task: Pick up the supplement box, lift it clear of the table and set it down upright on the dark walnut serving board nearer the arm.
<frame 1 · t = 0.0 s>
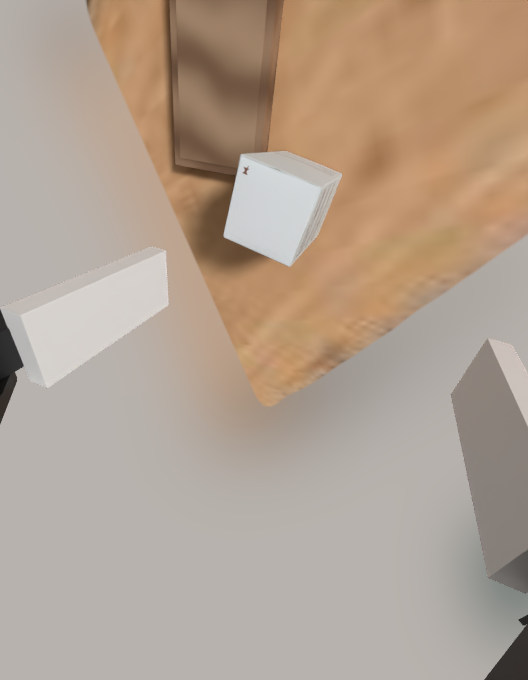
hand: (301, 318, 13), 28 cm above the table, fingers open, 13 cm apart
walnut board: (226, 76, 33), on the table
supplement box: (303, 195, 37), on the table
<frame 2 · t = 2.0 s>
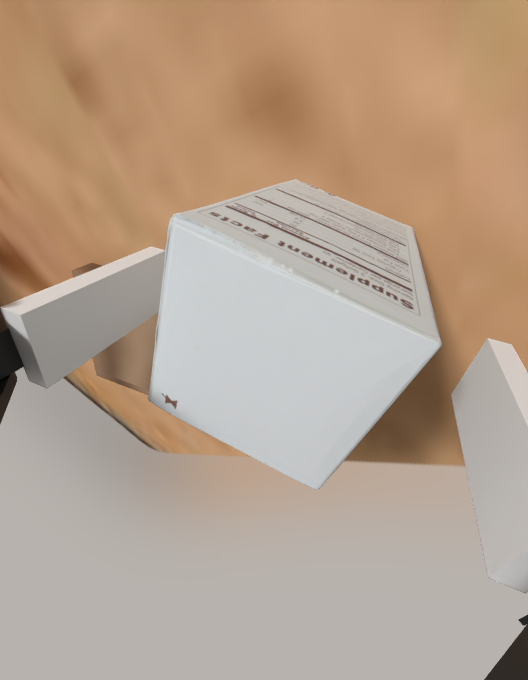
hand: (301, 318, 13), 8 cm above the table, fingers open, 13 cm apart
walnut board: (187, 347, 27), on the table
supplement box: (327, 257, 19), on the table
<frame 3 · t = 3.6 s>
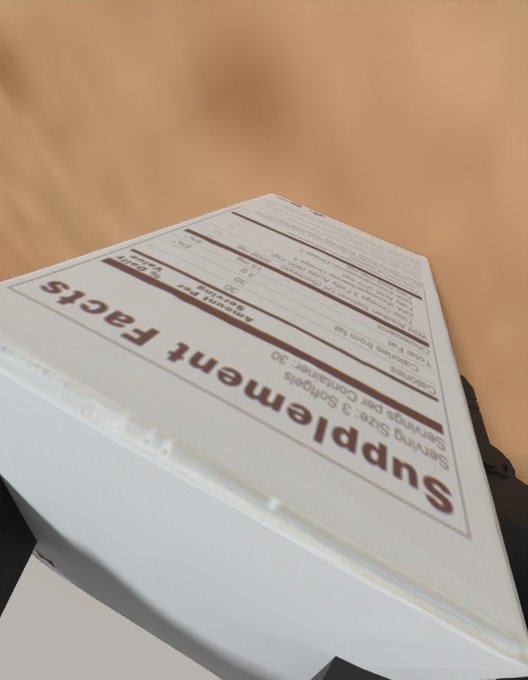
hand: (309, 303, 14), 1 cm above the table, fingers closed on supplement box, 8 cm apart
supplement box: (316, 291, 15), on the table, touching gripper
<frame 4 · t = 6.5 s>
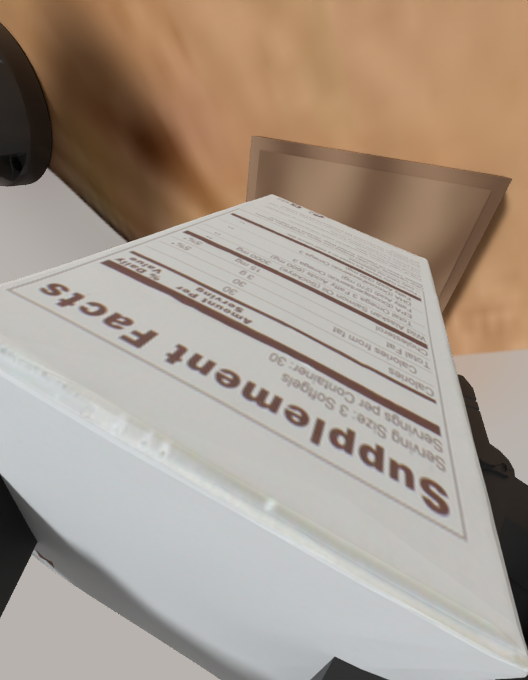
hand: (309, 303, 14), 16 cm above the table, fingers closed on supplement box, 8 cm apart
walnut board: (351, 229, 26), on the table
supplement box: (316, 292, 15), point 14 cm above the table, touching gripper
when the fingers open (4 cm above the table, at t = 9.2 s): supplement box stays where it is, resting on walnut board.
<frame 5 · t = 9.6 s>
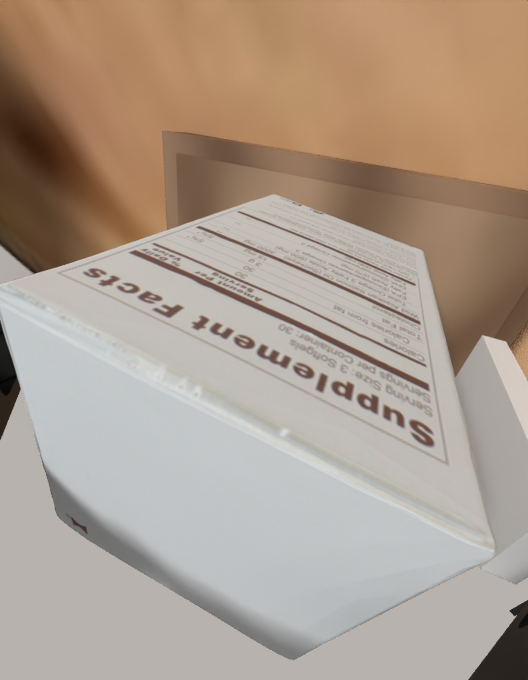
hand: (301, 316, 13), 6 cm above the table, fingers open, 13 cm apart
walnut board: (327, 273, 17), on the table
supplement box: (318, 286, 16), point 2 cm above the table, touching walnut board
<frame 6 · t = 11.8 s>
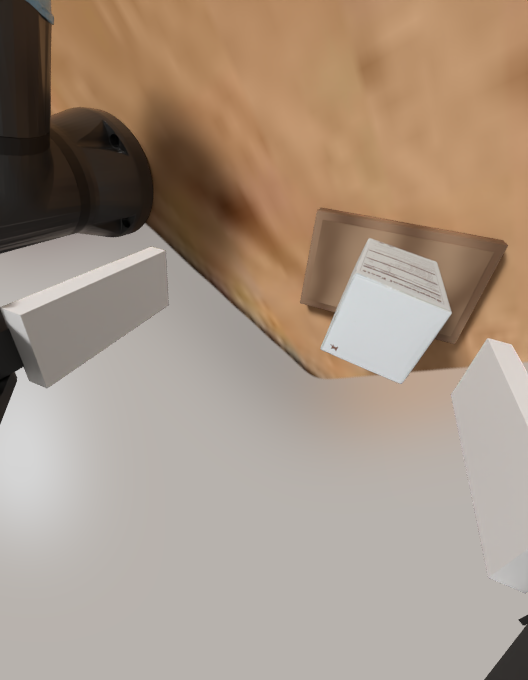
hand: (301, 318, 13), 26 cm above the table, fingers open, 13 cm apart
walnut board: (388, 273, 35), on the table
supplement box: (387, 278, 34), point 2 cm above the table, touching walnut board
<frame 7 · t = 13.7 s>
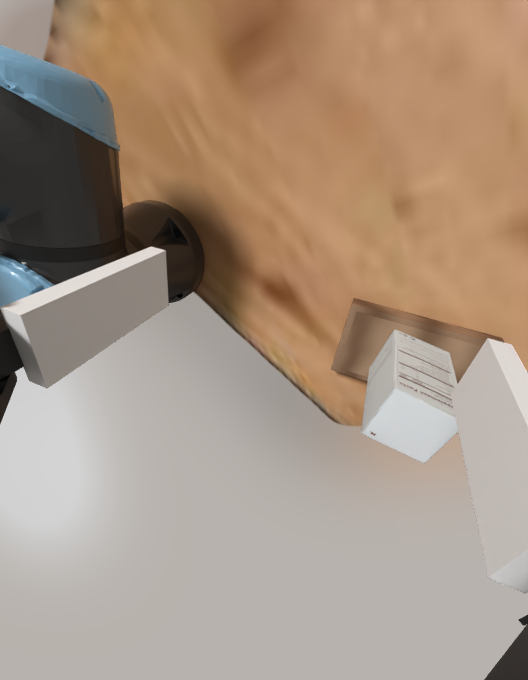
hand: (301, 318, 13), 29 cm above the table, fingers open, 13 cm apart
walnut board: (407, 351, 43), on the table
supplement box: (407, 359, 41), point 2 cm above the table, touching walnut board
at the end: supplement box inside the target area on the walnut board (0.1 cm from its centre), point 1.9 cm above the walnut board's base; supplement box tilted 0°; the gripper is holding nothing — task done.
